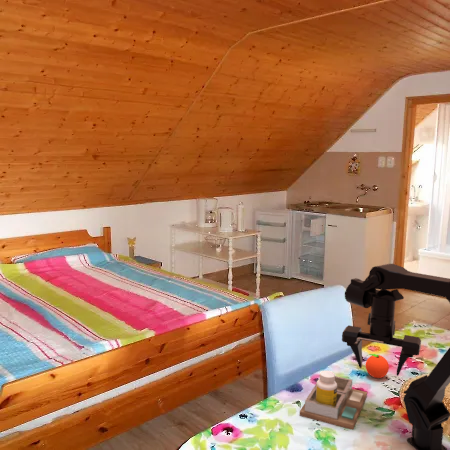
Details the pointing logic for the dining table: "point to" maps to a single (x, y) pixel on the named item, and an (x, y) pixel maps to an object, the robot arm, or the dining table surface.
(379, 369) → the clementine
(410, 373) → the dining table surface
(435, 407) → the robot arm
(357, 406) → the socket board
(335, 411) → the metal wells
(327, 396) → the supplement bottle
